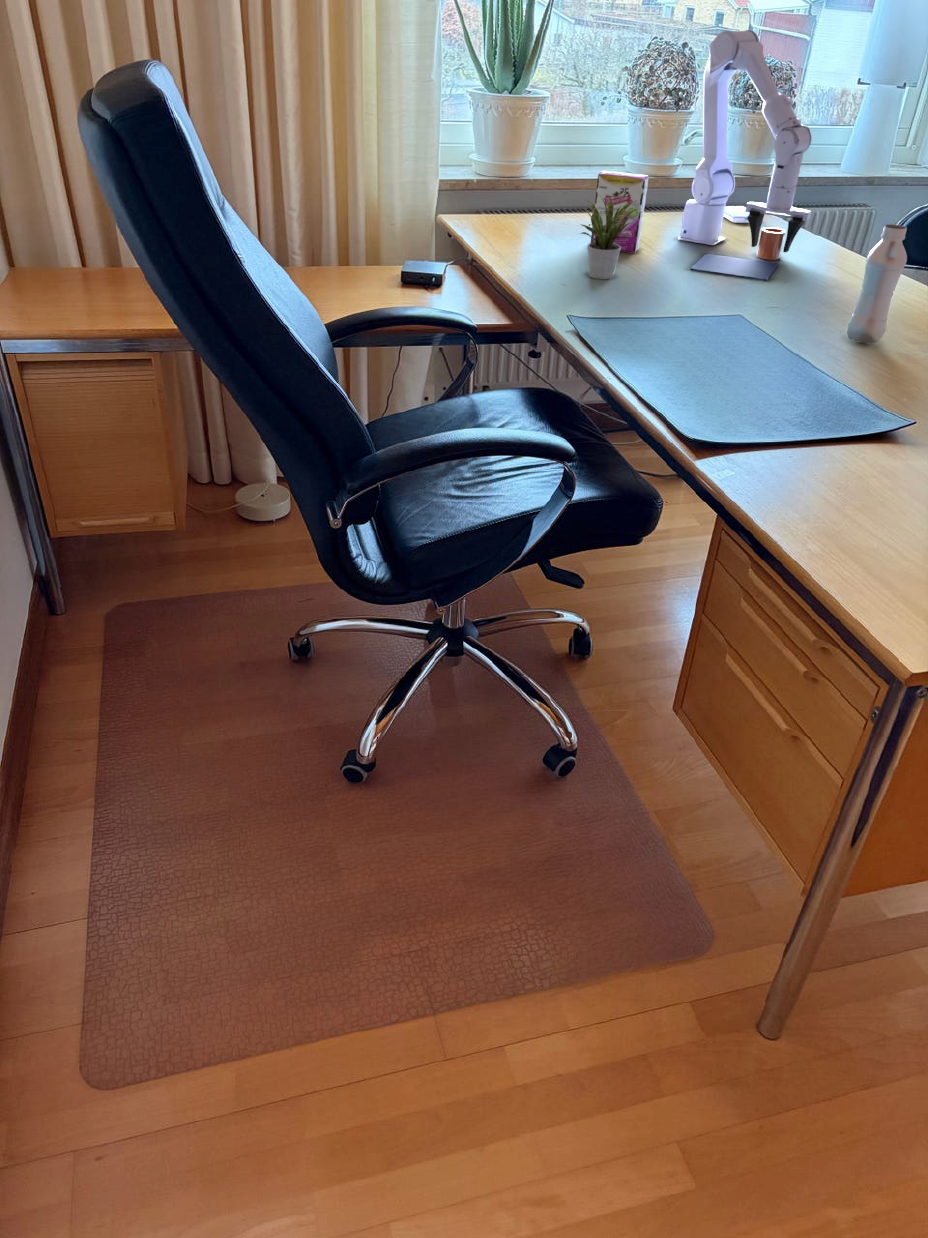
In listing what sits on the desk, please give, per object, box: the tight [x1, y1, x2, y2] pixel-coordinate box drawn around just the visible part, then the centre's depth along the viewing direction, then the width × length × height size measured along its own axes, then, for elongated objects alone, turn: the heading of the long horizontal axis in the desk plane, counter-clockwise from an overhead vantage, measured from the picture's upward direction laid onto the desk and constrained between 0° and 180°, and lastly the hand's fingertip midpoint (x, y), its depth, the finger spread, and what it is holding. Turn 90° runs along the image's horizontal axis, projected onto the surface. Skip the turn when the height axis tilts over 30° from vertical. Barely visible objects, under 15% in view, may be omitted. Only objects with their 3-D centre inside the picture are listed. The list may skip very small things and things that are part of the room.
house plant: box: [578, 195, 639, 280], centre depth 195 cm, size 14×14×16 cm
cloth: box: [690, 253, 780, 282], centre depth 208 cm, size 17×15×1 cm
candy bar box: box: [590, 170, 650, 254], centre depth 214 cm, size 11×5×16 cm, turn 71°
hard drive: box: [723, 205, 750, 224], centre depth 250 cm, size 2×8×12 cm
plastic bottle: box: [846, 223, 908, 344], centre depth 163 cm, size 6×7×20 cm
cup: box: [756, 226, 787, 261], centre depth 215 cm, size 5×5×6 cm
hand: (769, 248), depth 216 cm, fingers open, 7 cm apart
